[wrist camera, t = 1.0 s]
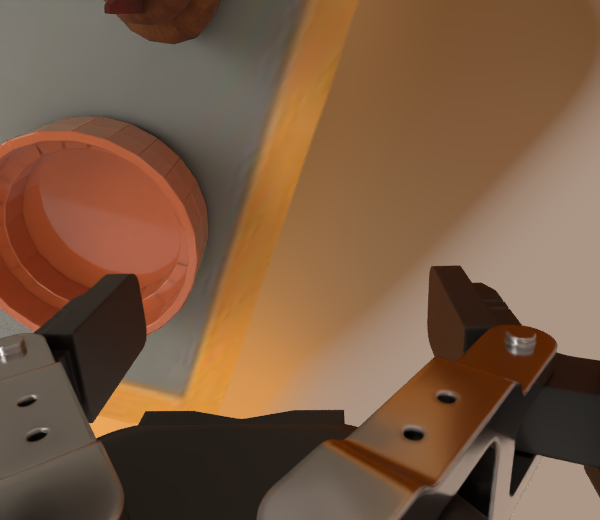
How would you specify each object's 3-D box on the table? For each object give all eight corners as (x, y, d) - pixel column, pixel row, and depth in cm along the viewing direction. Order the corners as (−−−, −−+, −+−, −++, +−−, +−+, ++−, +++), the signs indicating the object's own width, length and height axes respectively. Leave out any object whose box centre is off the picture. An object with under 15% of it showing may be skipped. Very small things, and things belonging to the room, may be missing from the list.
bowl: (4, 282, 41) (-40, 321, 36) (7, 89, 35) (-46, 102, 29) (192, 320, 43) (177, 364, 37) (226, 144, 37) (215, 165, 31)
